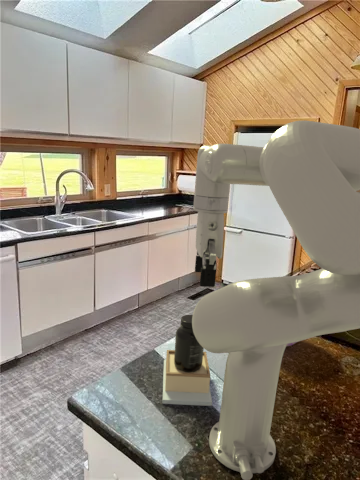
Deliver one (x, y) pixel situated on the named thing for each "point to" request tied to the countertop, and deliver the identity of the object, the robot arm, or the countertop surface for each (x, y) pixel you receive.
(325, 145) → the robot arm
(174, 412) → the countertop surface
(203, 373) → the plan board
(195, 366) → the supplement bottle
